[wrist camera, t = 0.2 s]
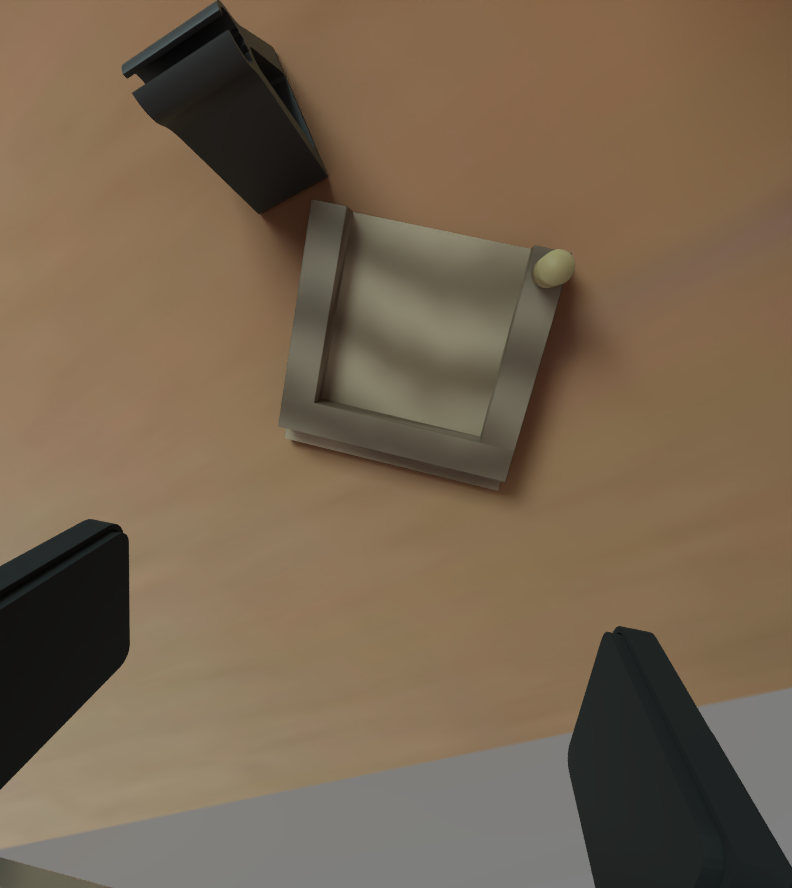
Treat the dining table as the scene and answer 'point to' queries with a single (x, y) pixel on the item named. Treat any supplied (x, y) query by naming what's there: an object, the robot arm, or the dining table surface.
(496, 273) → the board
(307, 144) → the phone stand
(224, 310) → the dining table surface
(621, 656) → the robot arm
